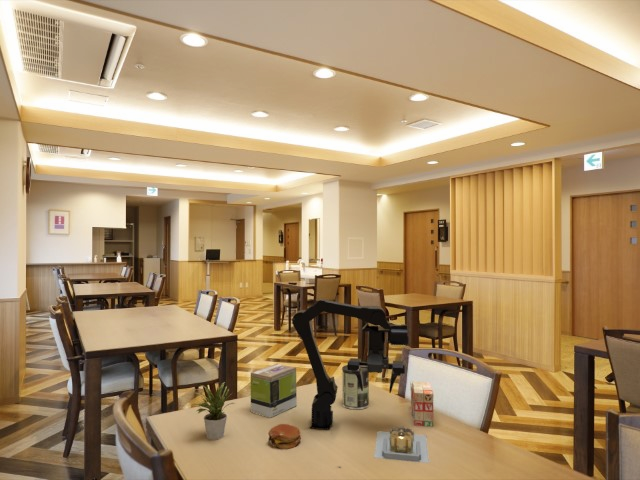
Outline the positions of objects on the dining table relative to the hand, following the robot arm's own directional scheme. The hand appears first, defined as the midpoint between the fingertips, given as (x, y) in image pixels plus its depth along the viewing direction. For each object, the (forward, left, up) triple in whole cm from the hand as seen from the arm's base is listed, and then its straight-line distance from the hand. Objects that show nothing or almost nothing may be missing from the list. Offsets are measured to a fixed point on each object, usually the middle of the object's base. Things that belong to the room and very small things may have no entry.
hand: (376, 391), depth 145 cm
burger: (-27, -17, -12) cm, 34 cm away
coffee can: (-9, +20, -12) cm, 25 cm away
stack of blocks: (+15, +13, -12) cm, 23 cm away
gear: (+8, -10, -11) cm, 17 cm away
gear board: (+8, -14, -12) cm, 21 cm away
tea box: (-38, +9, -12) cm, 41 cm away
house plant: (-50, -16, -12) cm, 54 cm away
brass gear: (+8, -18, -11) cm, 22 cm away
